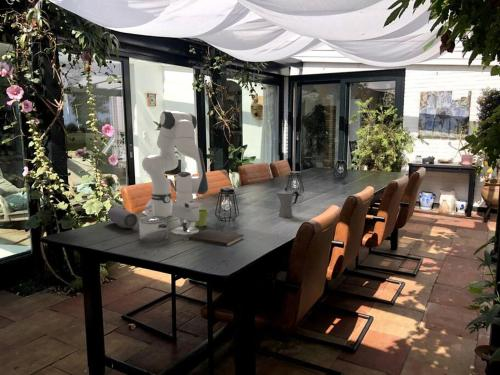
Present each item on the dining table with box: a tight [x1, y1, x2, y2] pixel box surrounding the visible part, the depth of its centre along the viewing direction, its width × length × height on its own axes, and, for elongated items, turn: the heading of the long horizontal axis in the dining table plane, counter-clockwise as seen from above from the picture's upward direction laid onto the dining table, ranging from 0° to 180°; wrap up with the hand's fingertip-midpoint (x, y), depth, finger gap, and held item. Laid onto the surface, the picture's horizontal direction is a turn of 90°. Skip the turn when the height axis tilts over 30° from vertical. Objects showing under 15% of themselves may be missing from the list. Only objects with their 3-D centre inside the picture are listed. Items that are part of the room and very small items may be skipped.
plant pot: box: [194, 208, 209, 227], centre depth 234 cm, size 9×9×9 cm
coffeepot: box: [275, 187, 299, 218], centre depth 258 cm, size 15×9×18 cm, turn 107°
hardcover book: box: [188, 228, 244, 247], centre depth 208 cm, size 16×23×2 cm
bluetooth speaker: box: [106, 206, 139, 229], centre depth 232 cm, size 23×9×10 cm, turn 41°
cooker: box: [138, 215, 169, 243], centre depth 209 cm, size 21×14×10 cm
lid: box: [171, 221, 200, 236], centre depth 222 cm, size 15×15×5 cm
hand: (185, 227), depth 222 cm, fingers closed on lid, 3 cm apart
